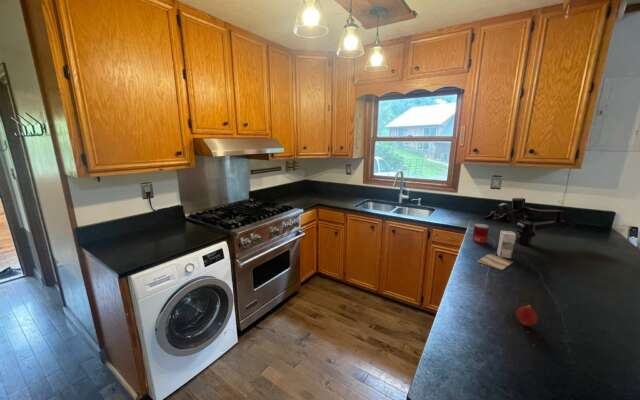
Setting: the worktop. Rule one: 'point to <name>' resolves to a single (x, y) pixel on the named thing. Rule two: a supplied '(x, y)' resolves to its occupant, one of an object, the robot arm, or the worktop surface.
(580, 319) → the worktop surface
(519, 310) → the onion
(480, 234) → the canned food
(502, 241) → the syrup box
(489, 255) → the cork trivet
